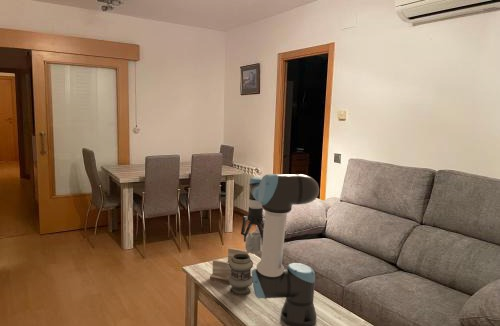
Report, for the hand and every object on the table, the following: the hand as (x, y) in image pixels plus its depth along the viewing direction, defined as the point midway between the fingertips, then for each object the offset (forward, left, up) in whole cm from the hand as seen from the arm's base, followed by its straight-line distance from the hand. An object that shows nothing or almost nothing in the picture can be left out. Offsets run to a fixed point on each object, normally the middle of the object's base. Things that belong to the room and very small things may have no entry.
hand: (254, 249), depth 188 cm
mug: (0, +1, -2) cm, 2 cm away
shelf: (0, +13, -16) cm, 20 cm away
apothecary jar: (-17, 0, -16) cm, 23 cm away
